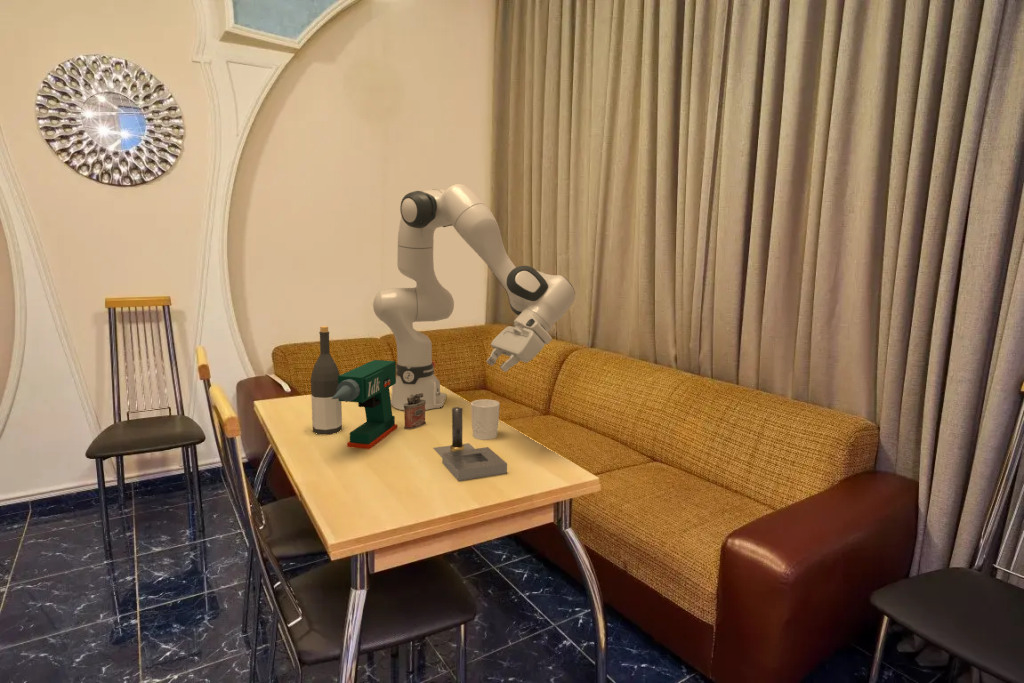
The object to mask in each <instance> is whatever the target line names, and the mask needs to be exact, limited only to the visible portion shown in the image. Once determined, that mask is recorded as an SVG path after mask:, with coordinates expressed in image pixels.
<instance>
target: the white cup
mask: <svg viewBox="0 0 1024 683" xmlns="http://www.w3.org/2000/svg"><path fill="white" fill-rule="evenodd" d="M470 404H471V406H470V407H471V408H470V409H471V428H472V437H473V438H474V439H476V440H480V441H481V440H482V441H490V440H494V439H497V437H498V429H499V428H498V427H499V422H500V421H499V420H500V419H499V417H500V404H501V403H500V401H498V400H495V399H494V400H493V399H486V398H485V399H477V400H473V401H471V402H470Z"/></svg>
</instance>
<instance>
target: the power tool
mask: <svg viewBox="0 0 1024 683" xmlns="http://www.w3.org/2000/svg"><path fill="white" fill-rule="evenodd" d="M396 364H397V363H396V361H395V360H384V359H383V360H382V359H381V360H380V359H373V360H371V361H369V362H367V363H364V364H362V365H360V366H357V367H356V368H353V369H350V370H348V371H347V372H344V373H343V374H340V375H339V376H338V385H337V389H336V392H337V393H336V394H335V395H334V396H333V398H332V399H339V401H341V402H345V403H357V405H358V407H359V408H364V412H365V419H366V421H365V422H364V423H362V424H360V425H359V426H358V427H356V428H354V429H353V430H352V431H350V432H349V441H348V442H347V443H346V447H347V448H353V447H354V448H357V449H367V450H371V449H372V448H374V447H375V446H376V445H377V444H379V443H380V442H381V441H382V440H384V439H385V438H386V437H387V436H389V435H390V434H392V433H393V432H394V431H395V430H396V429H398V424H396V422H395V420H396V418H395V415H393V410H392V409H393V408H392V405H391V393H390V388H391V387H392V385H394V384H396V377H397V374H396Z"/></svg>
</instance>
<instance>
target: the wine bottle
mask: <svg viewBox="0 0 1024 683" xmlns="http://www.w3.org/2000/svg"><path fill="white" fill-rule="evenodd" d="M319 329H320V330H319V347H320V350H319V351H320V354H319V356H318V358H317V359H316V362H315V364H314V365H313V369H312V372H311V376H310V388H311V390H310V391H311V393H310V394H311V418H312V419H311V420H312V422H311V423H312V431H314V432H315V433H317V434H316V435H320V434H329V435H334V434H333V433H336V434H338V433H339V431H340V430H341V431H342V430H343V418H342V417H343V415H342V414H343V412H342V411H343V410H342V407H343V406H342V401H339V399H332V398H333V396H334V395H335V394H336V393H337V392H336V389H337V385H338V376H339V375H341V373H340V370H339V368H338V365H337V364H336V362H335V360H334V359H333V357H332V355H331V353H330V352H331V351H330V331H329V326H328V325H323V326H322V325H321V326H320V327H319ZM341 431H340V432H341ZM314 432H313V433H314ZM337 432H338V433H337Z"/></svg>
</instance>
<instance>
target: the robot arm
mask: <svg viewBox="0 0 1024 683" xmlns="http://www.w3.org/2000/svg"><path fill="white" fill-rule="evenodd" d="M399 208H400V209H399V210H400V216H401V217H400V221H399V226H398V234H397V235H398V236H397V263H396V264H397V269H398V271H399V272H400V273H401V274H402V275H403V276H405V277H406V278H409V279H411V280H413V281H414V282H416V284H415V285H416V286H414V287H392V288H388V289H381V290H379V291H378V292H377V293H376V295H375V296H374V299H373V302H372V303H373V304H372V306H373V312H374V315H375V316H376V317H377V318H378V319H379V320H380V321H381V322H383V323H384V324H385V325H386V326H387V327H388V328H389V329H390V331H391V332H392V335H393V336H394V338H395V343H396V351H397V352H396V353H397V363H396V384H394V385H392V386H391V387H392V388H391V398H390V400H391V407H393V408H394V409H397V410H400V411H405V410H404V404H406V403H408V401H407V397H409V396H410V395H411V394H415V395H416V394H417V393H423V397H422V398H420V400H426V404H425V411H427V410H431V409H441V408H443V407H444V405H445V402H446V400H445V398H446V399H447V397H448V396H447V395H448V394H446V393H444V392H441V381H440V380H439V379H438V377H436V375H435V366H436V362H435V361H433V360H432V358H433V356H432V355H433V354H432V352H433V351H432V350H433V346H432V341H431V339H430V337H429V336H427V335H426V334H424V333H422V332H420V331H418V330H416V329H414V325H413V323H415V322H416V323H417V322H418V323H419V322H420V323H421V322H425V323H426V322H437V321H442V320H446V319H449V317H451V315H452V313H453V311H454V306H455V301H454V298H453V295H452V293H451V292H450V291H449V290H448V289H446V288H445V287H444V286H443V284H442V283H440V281H439V280H438V277H437V276H436V272H435V269H434V268H435V267H434V236H435V235H434V234H435V231H436V229H437V228H441V227H442V228H447V227H450V226H451V227H453V228H454V230H455V231H456V232H457V233H458V235H459V236H460V237H461V238H462V239H463V240H464V242H466V244H467V245H468V246H469V247H470V248H471V249H472V250H473V251H474V252H475V253H476V254H477V255H478V257H479V258H480V259H481V260H483V262H484V263H485V264H486V265H487V266H488V268H489V269H490V271H491V272H492V274H493V275H494V276H495V277H496V279H497V281H498V282H499V283H500V285H501V286H502V287H503V289H504V290H505V292H506V294H507V297H508V303H509V307H510V309H511V310H512V312H513V313H514V314H515V315H517V317H516V318H515V319H514V320H513V325H512V326H511V325H509V326H506V327H505V328H504V329H503V330H502V331H500V332H499V334H497V335H496V337H494V338H493V340H492V341H491V343H490V346H491V348H493V349H492V351H491V353H490V356H489V357H488V358H487V359H486V363H487V364H488V365H489V366H491V367H492V366H494V365H495V364H496V363H497V359H498V358H499V357H501V356H502V355H503V356H507V357H509V358H508V359H507V360H506V361H503V362H502V363H501V364H500V366H499V369H501V371H502V372H504V373H505V372H509V370H510V368H512V367H514V366H515V365H517V364H518V363H519V362H520V361H521V362H523V363H528V362H530V361H532V360H533V359H534V358H535V357H536V356H537V355H538V354H540V352H541V351H542V349H543V348H544V347H545V345H548V344H550V342H552V341H553V337H552V336H551V335H550V334H549V333H550V331H552V328H553V326H554V324H555V323H556V322H559V321H560V319H562V318H563V316H564V315H565V314H566V313H567V311H569V309H570V308H571V306H572V305H573V303H574V301H575V299H576V291H575V288H574V287H573V285H572V284H571V282H570V281H569V280H568V279H567V278H566V277H564V276H563V275H560V274H556V275H555V274H554V275H553V274H548V273H545V272H541V271H540V270H537V269H535V268H534V267H532V266H529V265H519V266H517V267H516V266H515V264H514V263H513V261H512V260H511V259H510V257H509V256H508V255H509V254H507V251H506V249H505V245H504V243H503V239H502V234H501V229H500V226H499V224H498V222H497V219H496V218H495V216H494V214H493V212H492V211H491V210H490V208H489V207H488V206H487V204H486V203H485V202H484V201H483V200H482V198H480V196H479V195H478V194H476V192H474V191H473V190H472V189H471V188H470V187H468V186H467V185H465V184H463V183H456V184H453V185H451V186H449V187H448V188H446V189H441V188H435V189H434V188H433V189H427V190H426V189H425V190H421V191H420V190H414V191H410V192H408V193H406V194H405V195H404V196H403V198H402V199H401V201H400V207H399ZM446 396H447V397H446ZM444 401H445V402H444ZM443 404H444V405H443ZM442 406H443V407H442ZM440 407H441V408H440Z"/></svg>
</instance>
